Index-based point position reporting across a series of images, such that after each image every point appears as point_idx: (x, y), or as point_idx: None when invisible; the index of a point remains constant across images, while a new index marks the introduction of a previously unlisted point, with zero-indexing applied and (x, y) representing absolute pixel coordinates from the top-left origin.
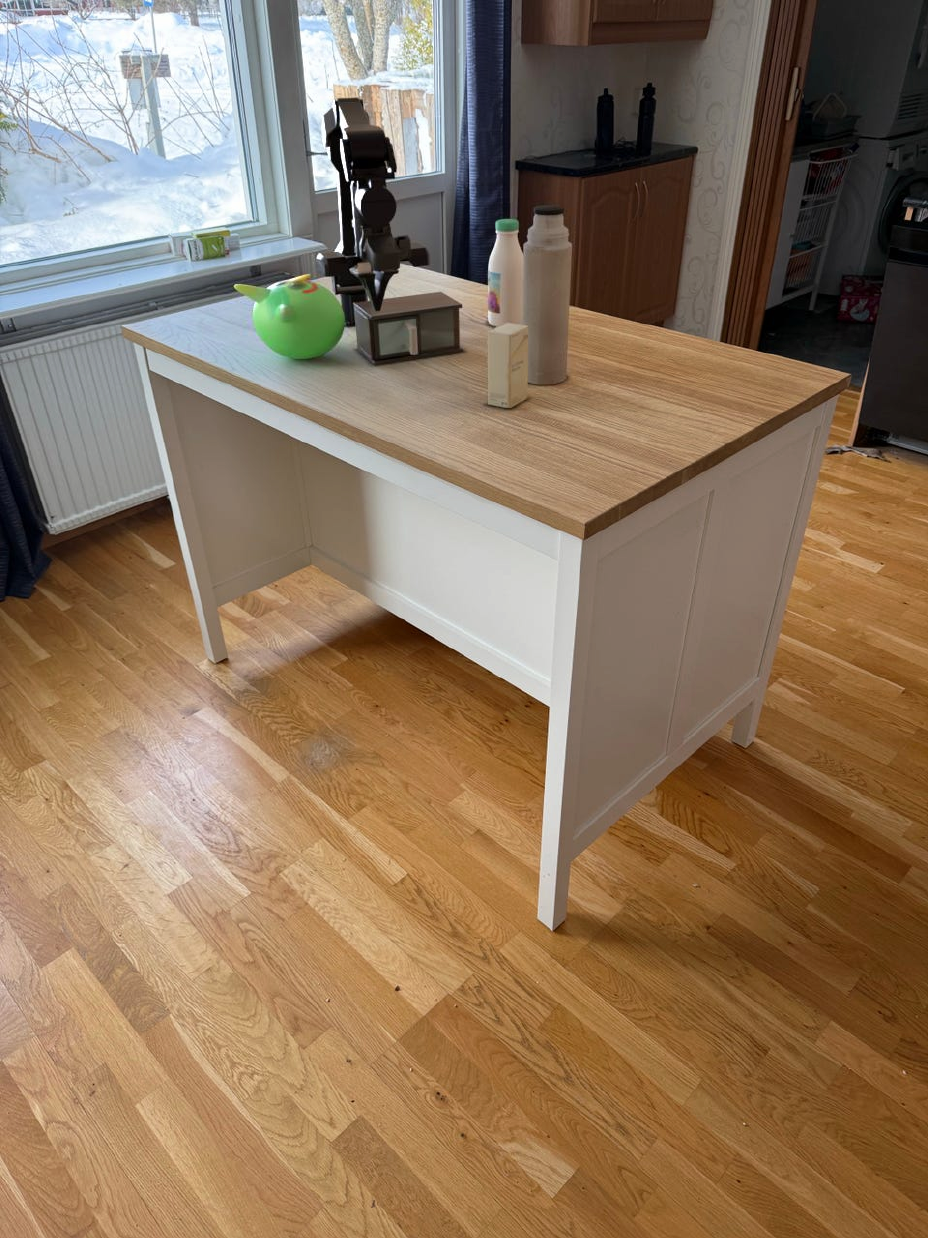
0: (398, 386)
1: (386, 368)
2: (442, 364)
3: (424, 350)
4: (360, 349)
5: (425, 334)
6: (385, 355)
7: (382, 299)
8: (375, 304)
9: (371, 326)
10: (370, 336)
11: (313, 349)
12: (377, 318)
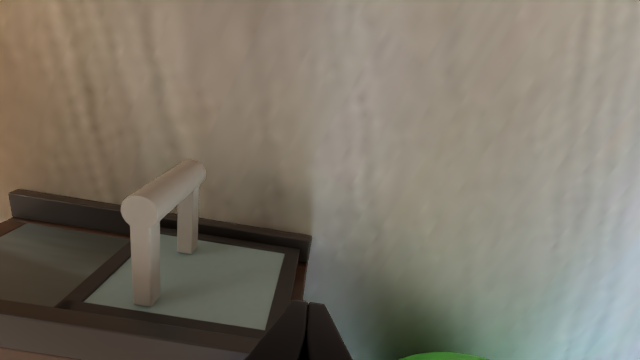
0: (348, 8)
1: (293, 195)
2: (120, 124)
3: None
4: None
5: (91, 265)
6: (268, 248)
7: (262, 345)
8: (327, 332)
9: None
10: None
11: (477, 357)
12: None
